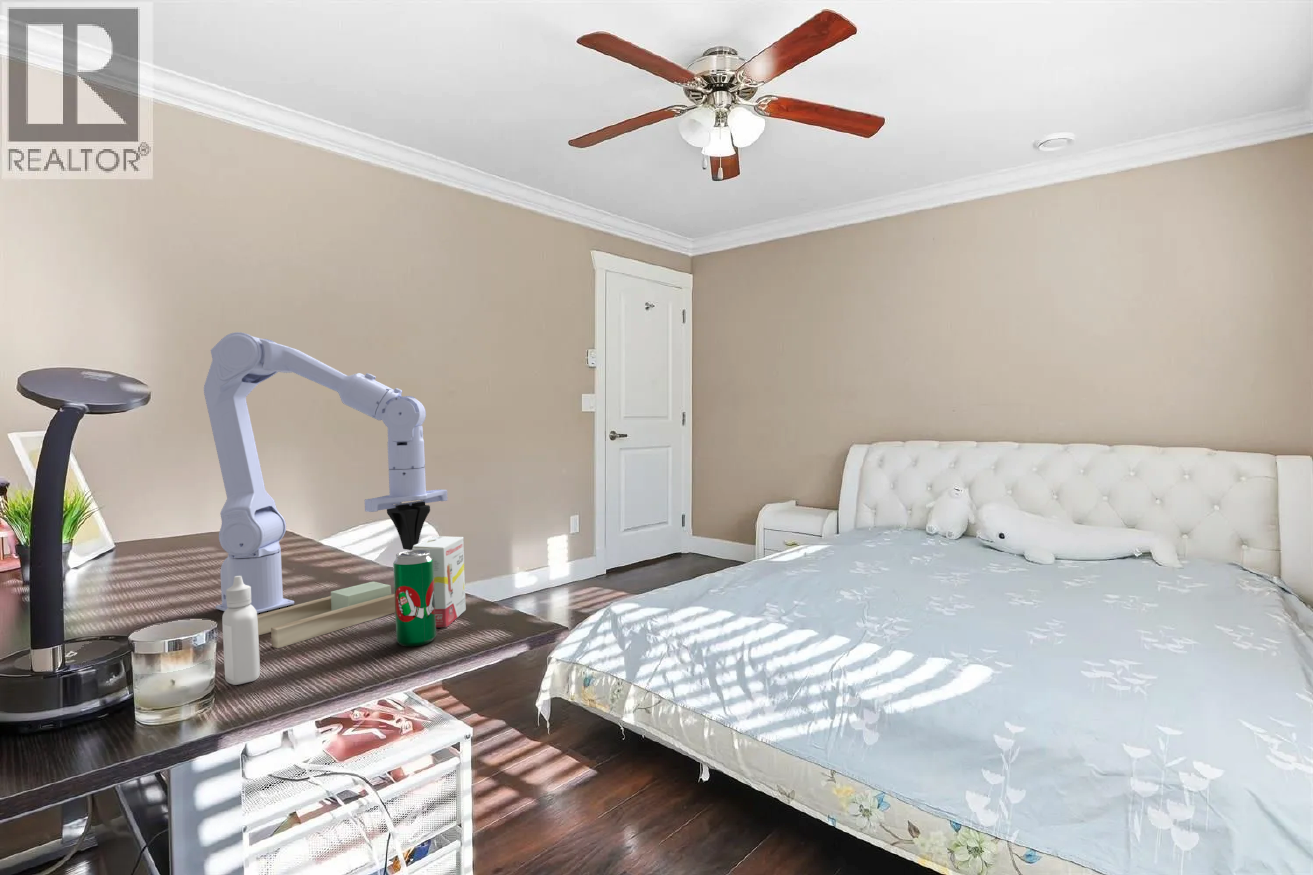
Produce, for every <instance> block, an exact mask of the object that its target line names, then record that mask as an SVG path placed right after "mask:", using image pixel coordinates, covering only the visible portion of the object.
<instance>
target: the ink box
mask: <svg viewBox="0 0 1313 875" xmlns="http://www.w3.org/2000/svg"><path fill="white" fill-rule="evenodd" d="M464 538H465V537H464V536H445V535H439V536H438V535H437V536H436V535H435V536H432V537H429V538H428V539H425V540H423V541H421V542H418V544H416V545H414V546H413V548H412V549H413V550H427V551H430V555H431V557H432V558H433V561H434V587H435V613H436V628H448V627H449V626H450V625H451V624H452V623H453V622H455V621H456V620H457V618H459V616H461V615H462V614H463V613H465V611H466V610H467V606H466V581H465V580H466V578H465V552H464V551H465V549H464V546H465V544H464V543H465V542H464Z"/></svg>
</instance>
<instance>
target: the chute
mask: <svg viewBox="0 0 1313 875" xmlns="http://www.w3.org/2000/svg"><path fill="white" fill-rule="evenodd" d="M392 614H395V594H394V593H391V595H387V596H384V597H380V598H377V599H373V600H369V601H366V602H362V603H359V604H355V605H352V606H348V607H344V608H341V609H337V610H334V611H331V595H329V596H326V597H322V598H318V599H313V600H309V601H306V602H302V603H298V604H295V605H294V604H293V605H289V606H288V607H287V606H285V607H281V608H280V609H279V608H277V609H274V610H270V611H268V612H267V611H266V612H262V613H260V614H259V613H258V614H257V618H258V636H261V635H265V634H269V633H270V634H271V635H270V638H271V647H273V648H275V649H280V648H284V647H287V646H290V645H293V644H296V643H302V642H304V641H307V640H310V639H313V638H317V637H320V636H323V635H324V636H325V635H326V634H330V633H332V632H336V631H339V630H343V629H346V628H349V627H353V626H356V625H358V624H362V623H366V622H369V621H371V620H377V619H378V618H381V617H385V616H388V615H392Z"/></svg>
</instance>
